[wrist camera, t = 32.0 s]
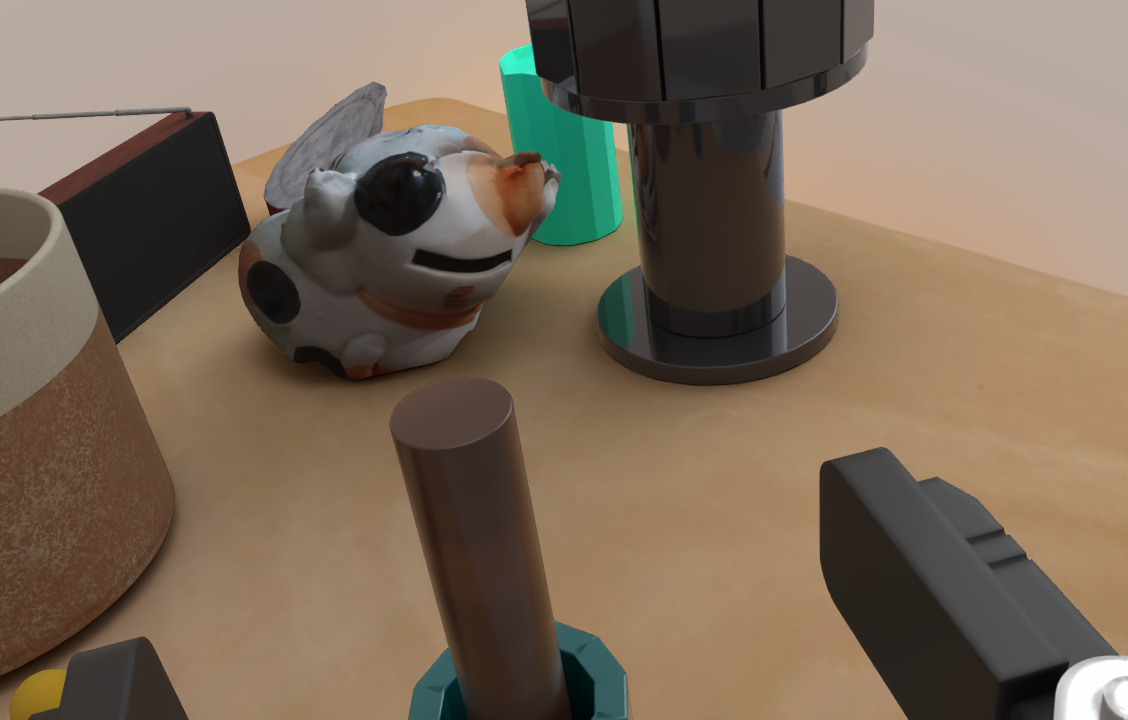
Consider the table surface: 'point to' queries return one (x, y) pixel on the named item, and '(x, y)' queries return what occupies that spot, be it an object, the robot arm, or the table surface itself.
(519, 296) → the table surface
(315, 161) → the canned food
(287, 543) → the table surface
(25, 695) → the chess piece
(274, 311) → the lucky cat figurine
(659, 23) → the bowl
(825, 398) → the table surface
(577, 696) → the holder
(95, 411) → the planter
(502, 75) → the candle
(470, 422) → the stick
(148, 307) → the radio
